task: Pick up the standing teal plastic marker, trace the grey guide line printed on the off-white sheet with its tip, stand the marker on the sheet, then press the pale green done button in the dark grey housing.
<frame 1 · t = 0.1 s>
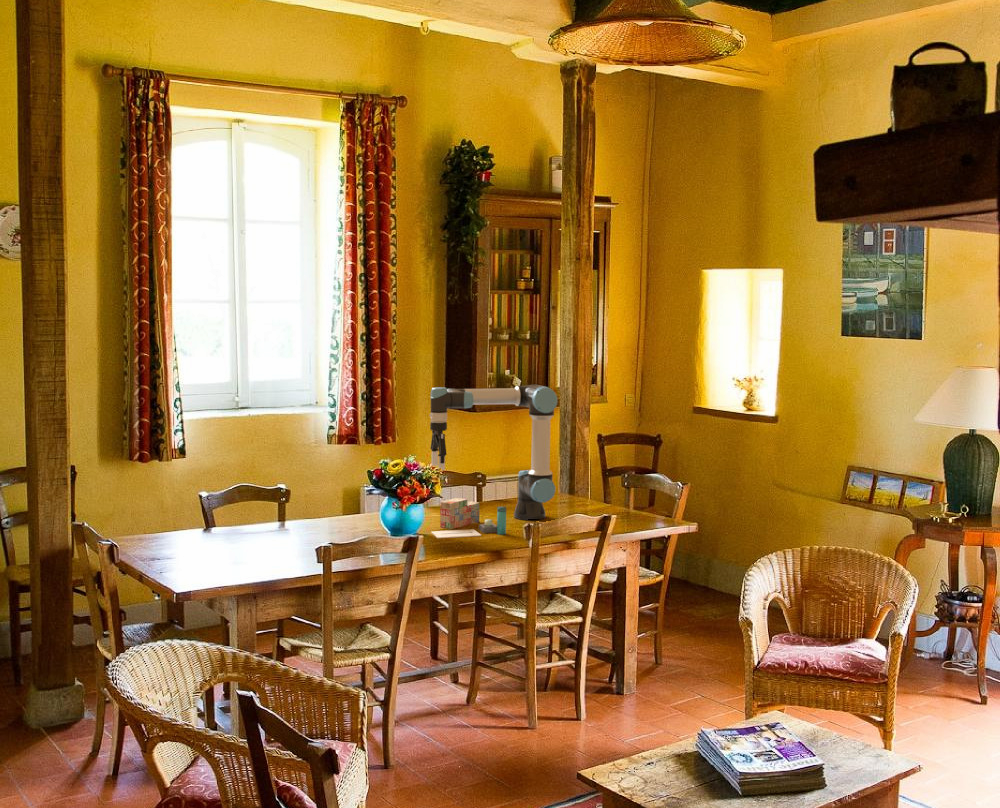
hand: (438, 467, 504), 28 cm above the table, fingers open, 13 cm apart
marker: (501, 533, 498), on the table
sheet: (456, 534, 496), on the table
done button: (488, 523, 503), point 3 cm above the table, slide at 0.0 cm
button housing: (488, 530, 504), on the table
stack of blocks: (460, 525, 516), on the table
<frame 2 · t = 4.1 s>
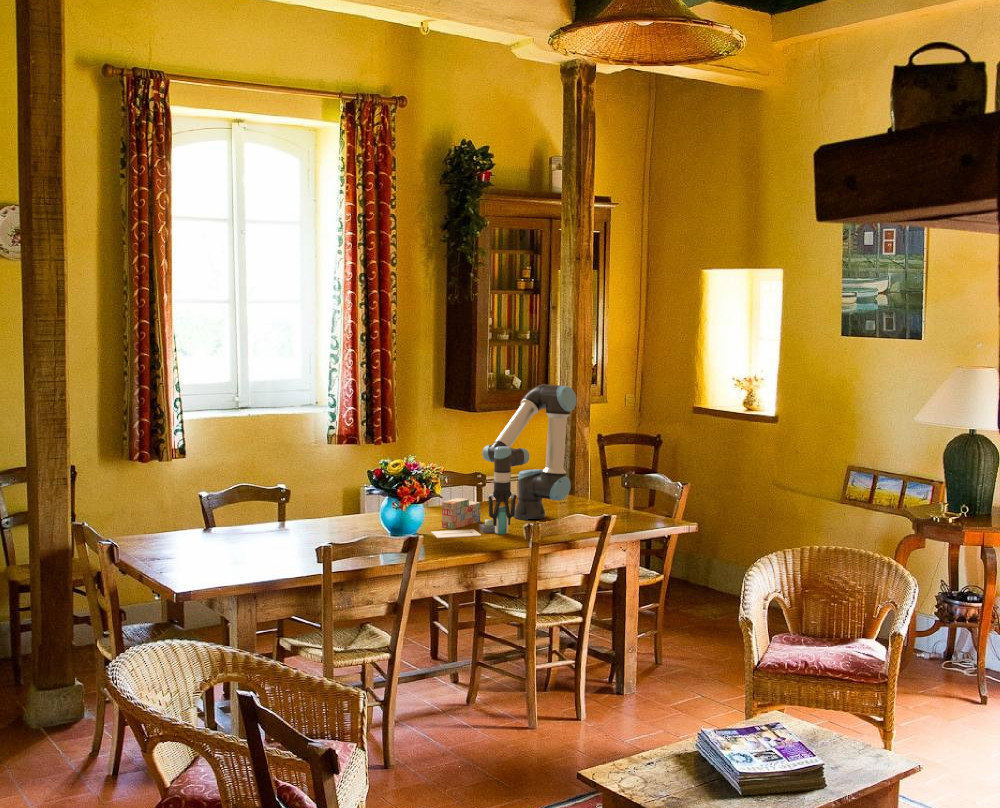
hand: (501, 532, 498), 1 cm above the table, fingers closed on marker, 4 cm apart
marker: (501, 533, 498), on the table, touching gripper
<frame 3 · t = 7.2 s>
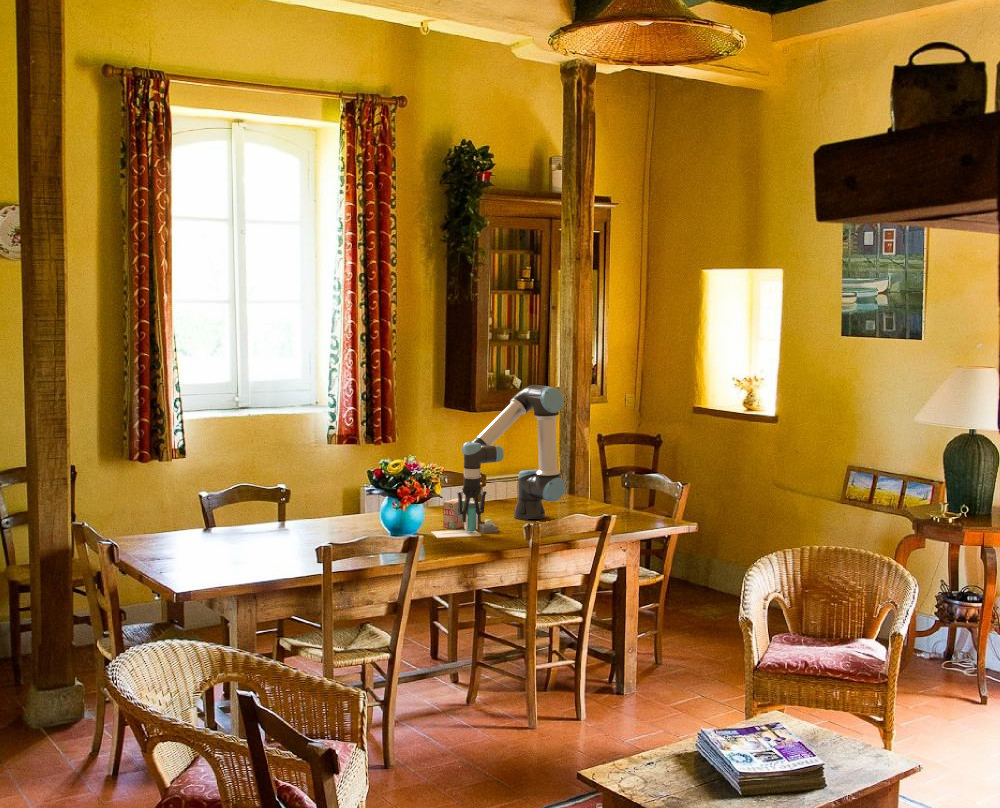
hand: (470, 528, 498), 2 cm above the table, fingers closed on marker, 4 cm apart
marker: (470, 530, 498), point 2 cm above the table, touching gripper
when the fingers open (2 cm above the table, at t = 10.7 s): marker stays where it is, resting on sheet.
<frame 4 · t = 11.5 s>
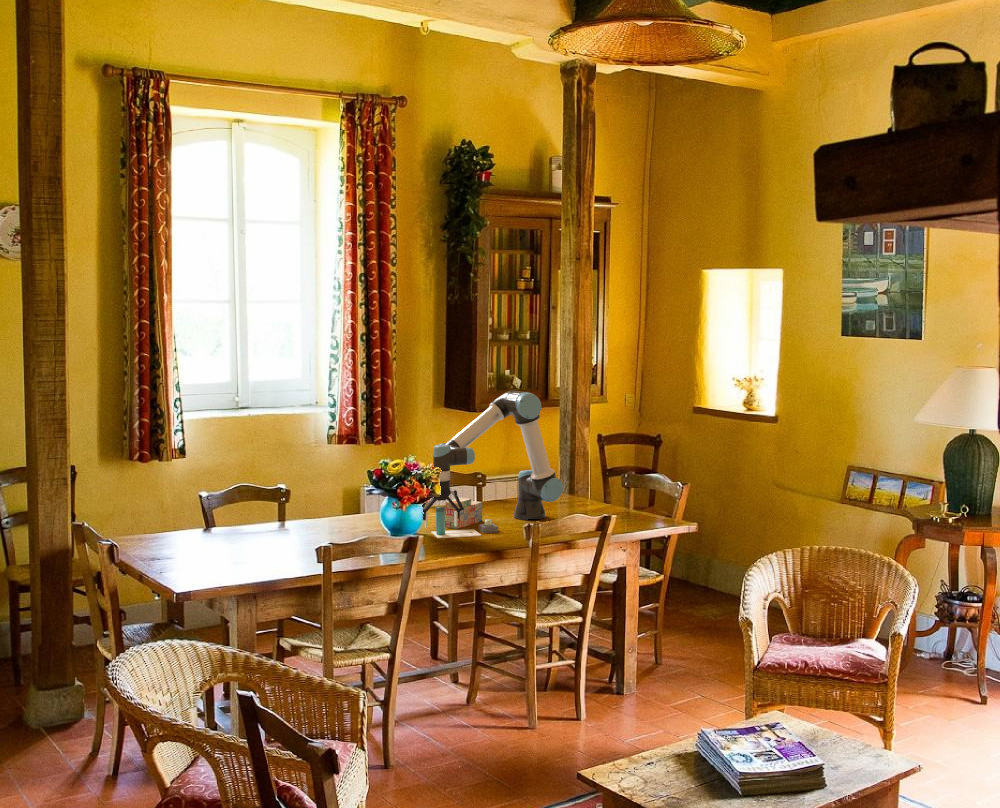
hand: (441, 526, 494), 4 cm above the table, fingers open, 13 cm apart
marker: (440, 533, 494), resting on sheet
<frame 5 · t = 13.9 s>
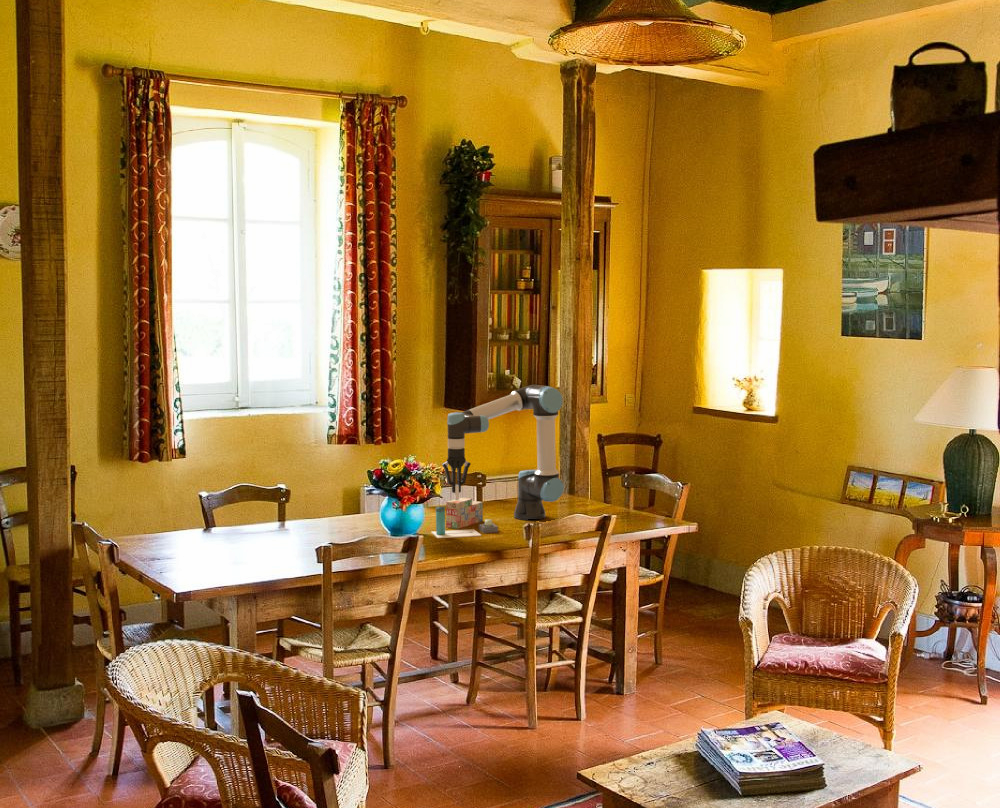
hand: (456, 499, 495), 15 cm above the table, fingers closed
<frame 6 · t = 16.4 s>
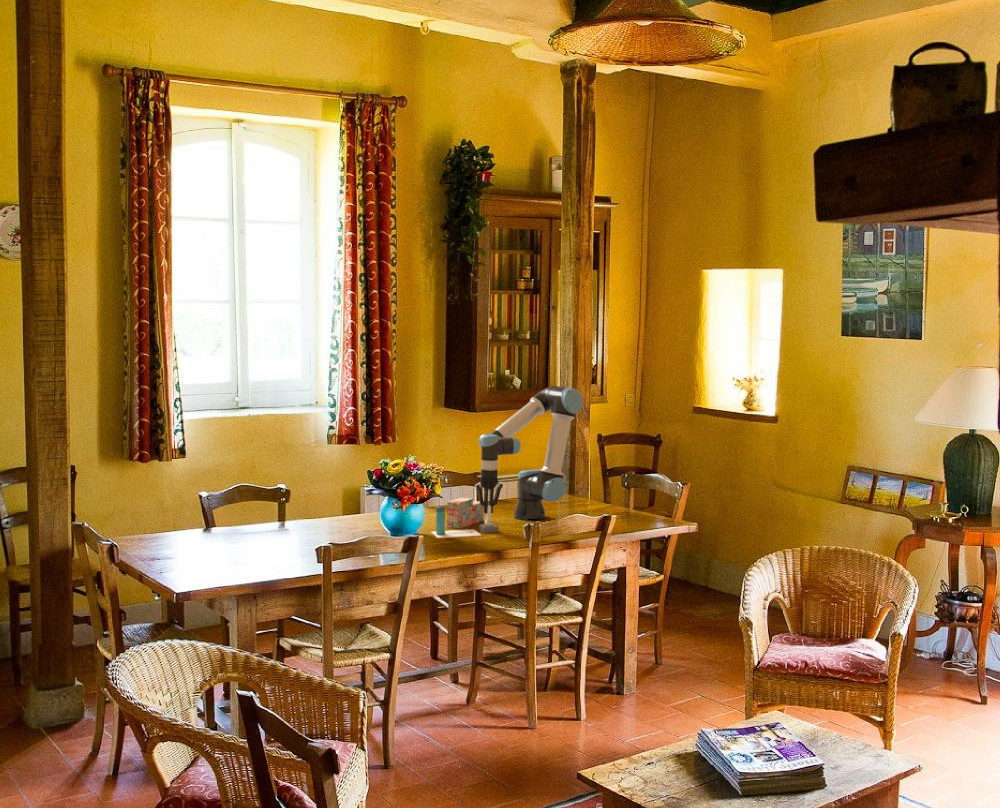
hand: (488, 520, 503), 5 cm above the table, fingers closed
done button: (488, 524, 503), point 3 cm above the table, slide at 0.3 cm, touching gripper
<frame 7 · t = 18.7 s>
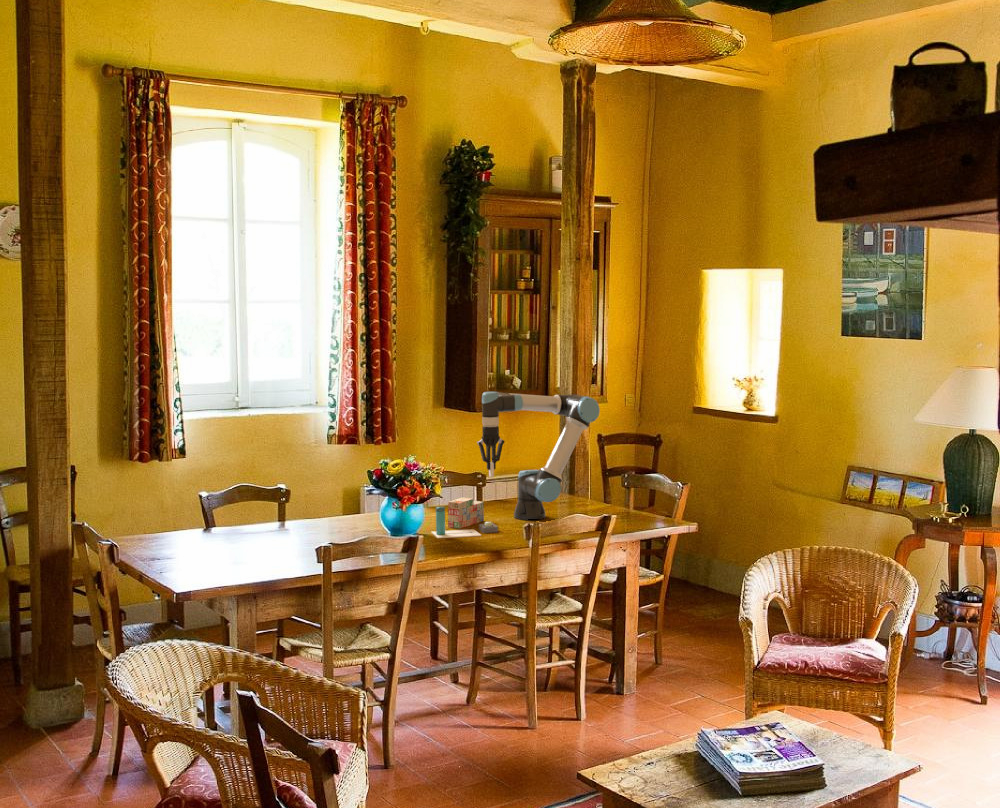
hand: (491, 476, 508), 24 cm above the table, fingers closed
done button: (488, 526, 503), point 2 cm above the table, slide at 1.1 cm
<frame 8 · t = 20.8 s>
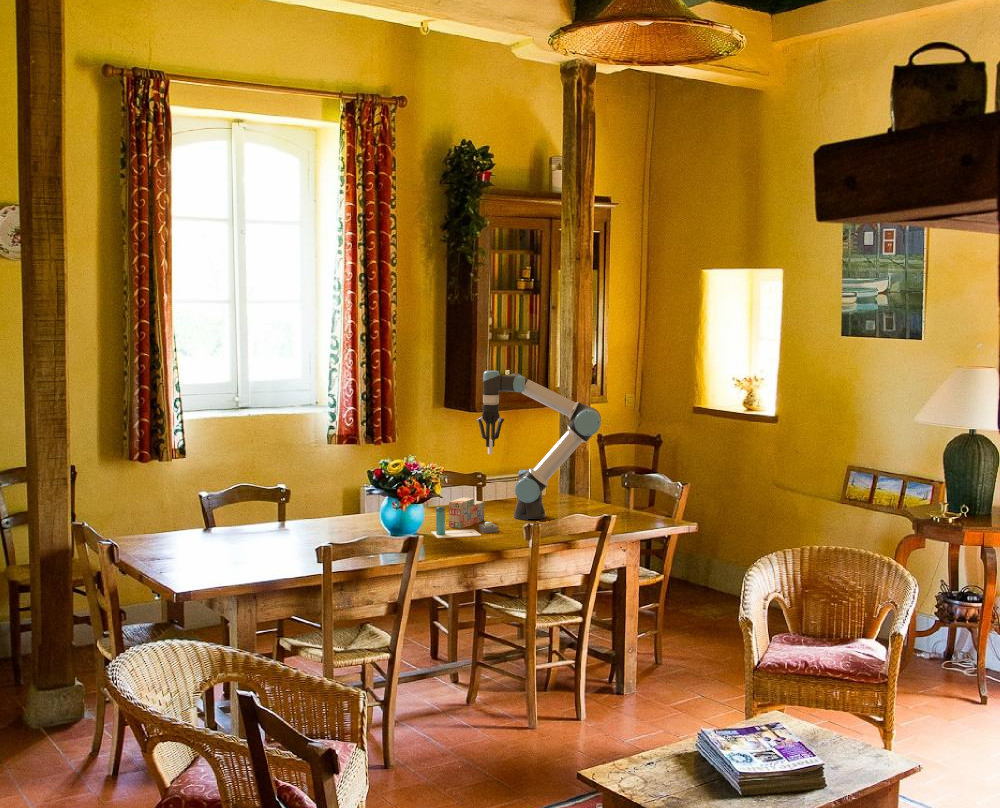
hand: (490, 453, 520), 32 cm above the table, fingers closed
at the end: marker inside the target area (6.6 cm from its centre), point 0.5 cm above the table; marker tilted 2°; done button slide at 1.1 cm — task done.
